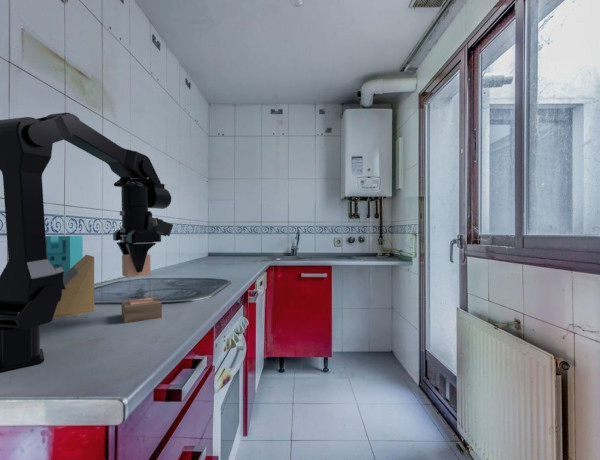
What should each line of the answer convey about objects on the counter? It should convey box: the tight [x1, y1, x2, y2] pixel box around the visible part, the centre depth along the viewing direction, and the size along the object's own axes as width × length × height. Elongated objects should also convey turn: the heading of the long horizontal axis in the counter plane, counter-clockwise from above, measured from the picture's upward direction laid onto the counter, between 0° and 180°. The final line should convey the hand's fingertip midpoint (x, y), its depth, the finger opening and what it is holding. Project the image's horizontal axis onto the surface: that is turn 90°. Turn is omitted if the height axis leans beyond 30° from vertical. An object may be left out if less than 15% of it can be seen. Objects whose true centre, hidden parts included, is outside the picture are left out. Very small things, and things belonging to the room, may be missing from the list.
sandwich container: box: [53, 254, 95, 319], centre depth 81 cm, size 9×15×15 cm, turn 136°
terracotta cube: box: [121, 253, 151, 279], centre depth 76 cm, size 5×5×5 cm
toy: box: [46, 235, 84, 275], centre depth 93 cm, size 9×6×20 cm, turn 86°
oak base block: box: [121, 296, 163, 324], centre depth 78 cm, size 8×8×4 cm
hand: (136, 271), depth 77 cm, fingers closed on terracotta cube, 5 cm apart
